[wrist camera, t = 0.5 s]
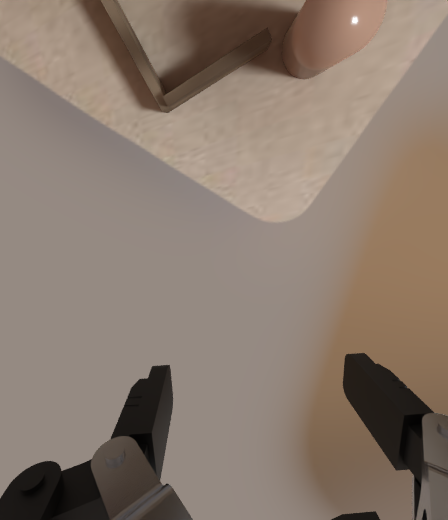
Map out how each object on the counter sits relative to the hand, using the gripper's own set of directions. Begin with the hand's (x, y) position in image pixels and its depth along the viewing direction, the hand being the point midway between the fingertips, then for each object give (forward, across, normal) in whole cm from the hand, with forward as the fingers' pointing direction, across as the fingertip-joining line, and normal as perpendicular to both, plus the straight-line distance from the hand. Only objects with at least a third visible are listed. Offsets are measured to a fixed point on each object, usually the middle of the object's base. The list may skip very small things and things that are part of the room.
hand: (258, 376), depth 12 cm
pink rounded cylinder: (+23, -10, -23) cm, 34 cm away
